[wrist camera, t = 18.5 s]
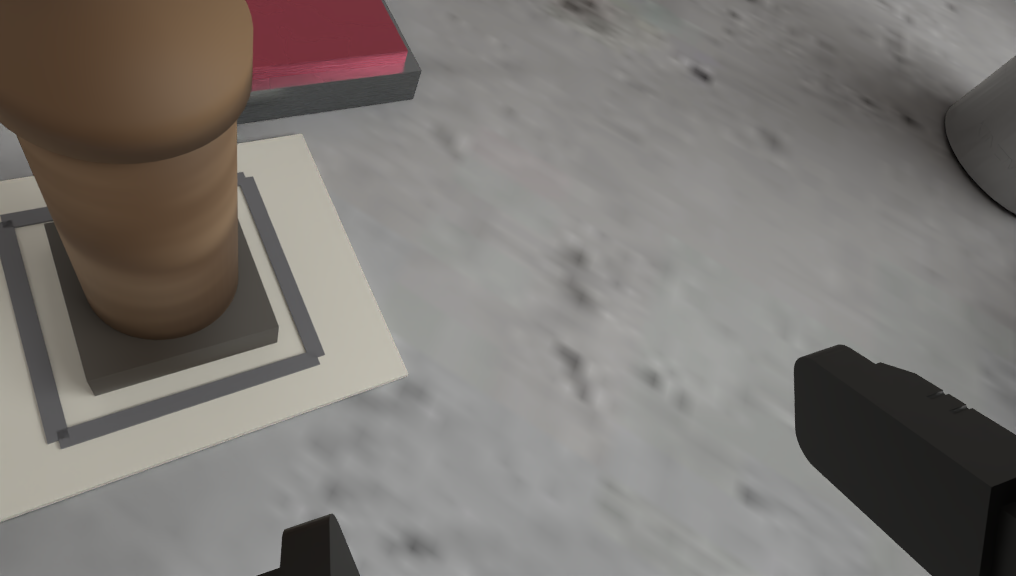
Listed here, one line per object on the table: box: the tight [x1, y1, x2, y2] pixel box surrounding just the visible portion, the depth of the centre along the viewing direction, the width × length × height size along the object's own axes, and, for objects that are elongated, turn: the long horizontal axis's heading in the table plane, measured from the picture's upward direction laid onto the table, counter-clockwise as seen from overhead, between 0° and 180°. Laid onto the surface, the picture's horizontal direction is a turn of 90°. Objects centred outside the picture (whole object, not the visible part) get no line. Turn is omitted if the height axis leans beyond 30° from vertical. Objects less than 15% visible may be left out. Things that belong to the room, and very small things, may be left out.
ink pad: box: [237, 0, 421, 124], centre depth 26 cm, size 8×8×2 cm
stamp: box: [0, 0, 279, 396], centre depth 16 cm, size 5×5×11 cm
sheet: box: [0, 134, 408, 522], centre depth 21 cm, size 12×10×1 cm
